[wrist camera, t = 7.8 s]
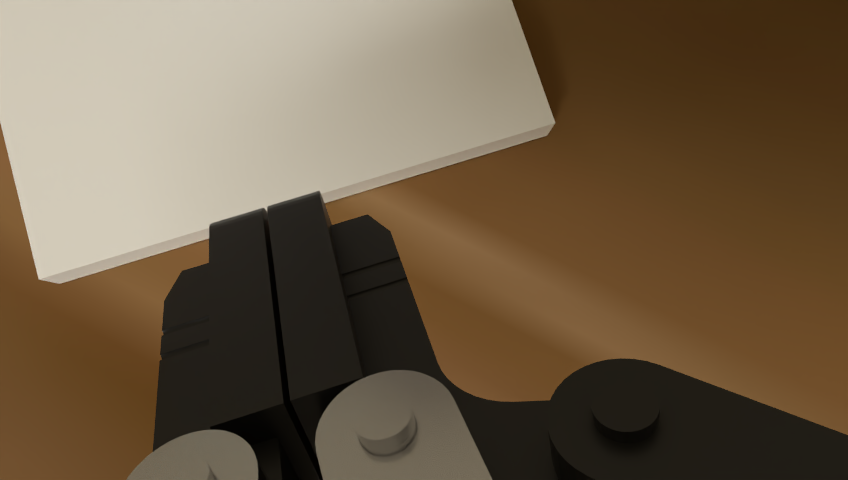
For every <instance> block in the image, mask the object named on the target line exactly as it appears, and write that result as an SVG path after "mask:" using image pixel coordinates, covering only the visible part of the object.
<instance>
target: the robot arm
mask: <svg viewBox="0 0 848 480" xmlns="http://www.w3.org/2000/svg"><path fill="white" fill-rule="evenodd" d="M162 331H163V334H164V335H163V336H162V339H161V352H160V355H161V357H162V360H160V365H159V378H158V391H157V405H156V418H155V431H154V444H153V452H152V453H151V454H150V455H149V456H147V457H146V458H145V459H144V460H143V461H142V462H141V463H140V464H139V465H138V466H137V467H136V468H135V469H134V471H133V472H132V473H131V474H130V475H129V477H128V478H127V480H848V435H846V434H843V433H840V432H838V431H835V430H832V429H829V428H827V427H824V426H821V425H819V424H816V423H813V422H811V421H808V420H805V419H803V418H800V417H797V416H795V415H792V414H789V413H787V412H784V411H781V410H779V409H776V408H773V407H771V406H768V405H765V404H762V403H760V402H757V401H754V400H752V399H749V398H746V397H744V396H741V395H738V394H736V393H733V392H730V391H728V390H725V389H722V388H720V387H717V386H714V385H712V384H709V383H706V382H703V381H701V380H698V379H695V378H693V377H690V376H687V375H685V374H682V373H679V372H677V371H674V370H671V369H669V368H666V367H663V366H661V365H658V364H654V363H651V362H648V361H642V360H636V359H610V360H604V361H600V362H595V363H593V364H590V365H587V366H585V367H583V368H581V369H579V370H577V371H575V372H574V373H572V374H571V375H570V376H568V377H567V378H566V379H565V380H564V381H563V382H562V383H561V384H560V385H559V386H558V387H557V389H556V390H555V392H554V394H553V395H552V397H551V400H550V401H526V402H499V401H492V400H486V399H483V398H479V397H476V396H473V395H471V394H469V393H467V392H464V391H463V390H461V389H460V388H458V387H457V386H455V385H454V384H453V383H452V382H451V381H449V380H448V379H447V377H446V376H445V375H444V374H443V372H442V371H441V369H440V367H439V365H438V363H437V360H436V357H435V355H434V352H433V349H432V346H431V343H430V341H429V338H428V335H427V332H426V329H425V327H424V324H423V321H422V318H421V316H420V313H419V310H418V307H417V304H416V302H415V299H414V296H413V293H412V291H411V288H410V285H409V283H408V280H407V277H406V274H405V271H404V268H403V265H402V263H401V261H400V257H399V254H398V252H397V249H396V246H395V243H394V240H393V238H392V235H391V232H390V231H389V230H388V229H386V228H385V227H384V226H382V225H381V224H380V223H378V222H377V221H376V220H374V219H373V218H372V217H370V216H369V215H364V216H361V217H358V218H354V219H351V220H348V221H345V222H341V223H338V224H335V225H332V224H331V221H330V218H329V215H328V212H327V209H326V206H325V203H324V201H323V198H322V195H321V193H320V191H316V192H313V193H310V194H306V195H303V196H300V197H296V198H293V199H290V200H286V201H283V202H280V203H276V204H273V205H270V206H268V207H267V211H266V210H265V208H260V209H257V210H254V211H250V212H247V213H244V214H240V215H237V216H234V217H230V218H227V219H224V220H220V221H217V222H214V223H211V224H210V226H209V263H207V264H204V265H200V266H197V267H194V268H190V269H187V270H184V271H182V272H181V273H180V275H179V277H178V279H177V280H176V282H175V284H174V285H173V287H172V289H171V290H170V292H169V294H168V296H167V297H166V299H165V301H164V312H163V326H162Z"/></svg>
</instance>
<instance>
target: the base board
mask: <svg viewBox="0 0 848 480" xmlns="http://www.w3.org/2000/svg"><path fill="white" fill-rule="evenodd" d="M0 123H1V127H2V131H3V135H4V139H5V143H6V147H7V151H8V155H9V159H10V163H11V168H12V172H13V176H14V180H15V184H16V188H17V192H18V196H19V200H20V204H21V208H22V213H23V217H24V221H25V225H26V229H27V233H28V237H29V241H30V245H31V249H32V253H33V258H34V262H35V266H36V270H37V274H38V278H39V280H44V281H49V282H54V283H59V284H60V283H64V282H67V281H70V280H74V279H77V278H80V277H84V276H87V275H90V274H93V273H97V272H100V271H103V270H107V269H110V268H113V267H116V266H120V265H123V264H126V263H130V262H133V261H136V260H139V259H143V258H146V257H149V256H153V255H156V254H159V253H162V252H166V251H169V250H172V249H176V248H179V247H182V246H186V245H189V244H192V243H195V242H199V241H202V240H205V239H209V226H210V224H211V223H214V222H217V221H220V220H224V219H227V218H230V217H234V216H237V215H240V214H244V213H247V212H250V211H254V210H257V209H260V208H265V210H266V211H267V207H268V206H270V205H273V204H276V203H280V202H283V201H286V200H290V199H293V198H296V197H300V196H303V195H306V194H310V193H313V192H316V191H320V193H321V195H322V198H323V201H324V203H327V202H330V201H334V200H337V199H340V198H343V197H347V196H350V195H353V194H357V193H360V192H363V191H367V190H370V189H373V188H376V187H380V186H383V185H386V184H390V183H393V182H396V181H399V180H403V179H406V178H409V177H413V176H416V175H419V174H422V173H426V172H429V171H432V170H436V169H439V168H442V167H445V166H449V165H452V164H455V163H459V162H462V161H465V160H469V159H472V158H475V157H478V156H482V155H485V154H488V153H492V152H495V151H498V150H501V149H505V148H508V147H511V146H515V145H518V144H521V143H524V142H528V141H531V140H534V139H538V138H541V137H544V136H547V135H548V133H549V132H550V130H551V129H552V127H553V126H554V124H555V120H554V118H553V115H552V112H551V109H550V106H549V104H548V101H547V98H546V95H545V92H544V90H543V87H542V84H541V81H540V78H539V75H538V73H537V70H536V67H535V64H534V61H533V59H532V56H531V53H530V50H529V47H528V45H527V42H526V39H525V36H524V33H523V30H522V28H521V25H520V22H519V19H518V16H517V14H516V11H515V8H514V5H513V2H512V0H0Z"/></svg>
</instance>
